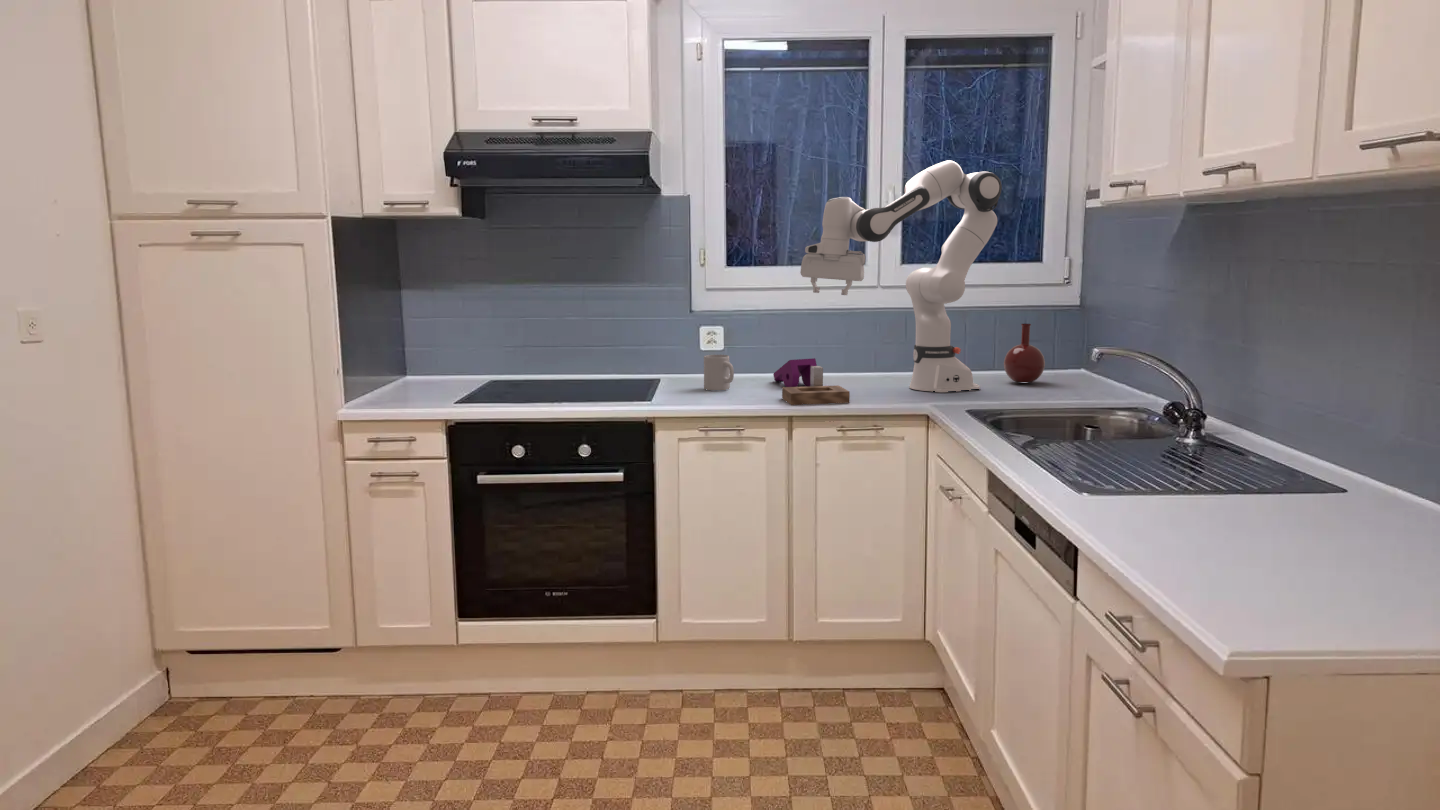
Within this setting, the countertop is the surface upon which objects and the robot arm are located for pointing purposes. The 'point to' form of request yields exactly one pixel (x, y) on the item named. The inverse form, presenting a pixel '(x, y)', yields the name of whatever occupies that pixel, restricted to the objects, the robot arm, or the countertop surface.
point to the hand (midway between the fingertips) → (830, 294)
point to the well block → (815, 395)
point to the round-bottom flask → (1024, 360)
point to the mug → (717, 372)
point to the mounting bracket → (795, 372)
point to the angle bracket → (816, 376)
